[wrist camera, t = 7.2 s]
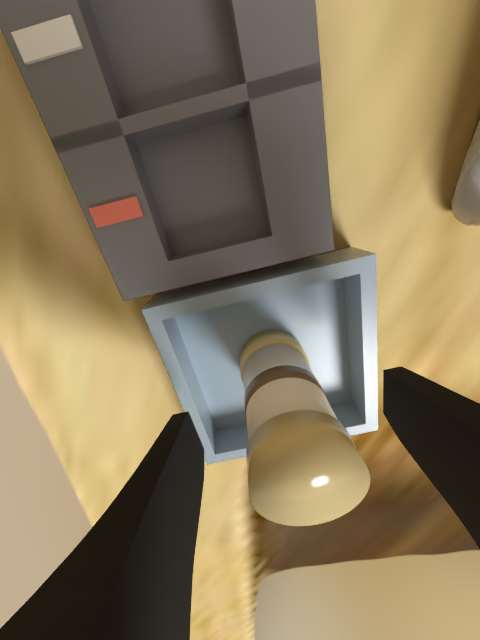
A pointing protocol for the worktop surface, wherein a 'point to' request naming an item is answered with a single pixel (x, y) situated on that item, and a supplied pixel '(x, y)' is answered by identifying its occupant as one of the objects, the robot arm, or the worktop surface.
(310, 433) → the cylinder
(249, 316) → the parts tray
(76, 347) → the worktop surface
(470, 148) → the wrench
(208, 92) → the fuse block
